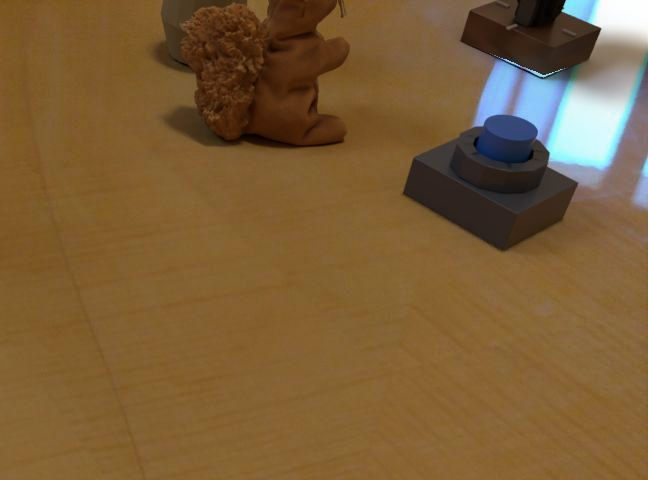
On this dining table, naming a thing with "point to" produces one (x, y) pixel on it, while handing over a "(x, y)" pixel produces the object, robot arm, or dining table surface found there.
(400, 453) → the dining table surface
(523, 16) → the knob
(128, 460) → the dining table surface
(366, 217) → the dining table surface
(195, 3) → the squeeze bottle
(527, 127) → the blue push button
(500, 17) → the panel
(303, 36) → the stuffed squirrel
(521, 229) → the push button base
